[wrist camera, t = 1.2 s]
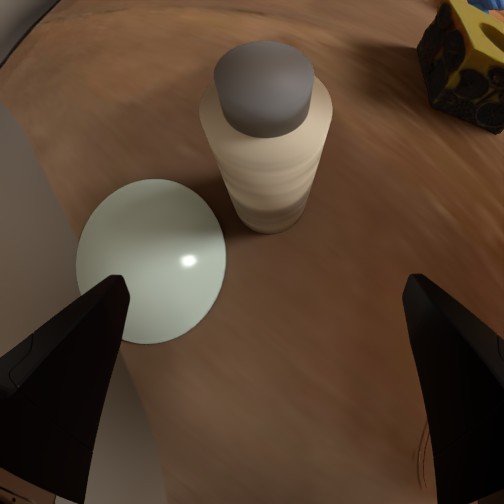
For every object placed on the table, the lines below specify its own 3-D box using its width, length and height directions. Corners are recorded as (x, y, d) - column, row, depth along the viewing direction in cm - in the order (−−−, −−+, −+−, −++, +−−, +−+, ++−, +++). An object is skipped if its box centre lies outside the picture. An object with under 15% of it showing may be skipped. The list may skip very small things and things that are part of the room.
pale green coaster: (231, 342, 21) (230, 343, 21) (83, 339, 22) (77, 340, 21) (223, 173, 24) (221, 169, 23) (85, 194, 24) (81, 191, 24)
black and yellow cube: (414, 47, 26) (440, -11, 16) (480, 74, 25) (514, 28, 15) (428, 109, 24) (470, 45, 14) (499, 137, 23) (548, 92, 13)
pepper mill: (309, 231, 22) (356, 128, 9) (235, 236, 23) (184, 140, 9) (301, 165, 23) (323, 27, 10) (232, 170, 24) (192, 36, 10)
